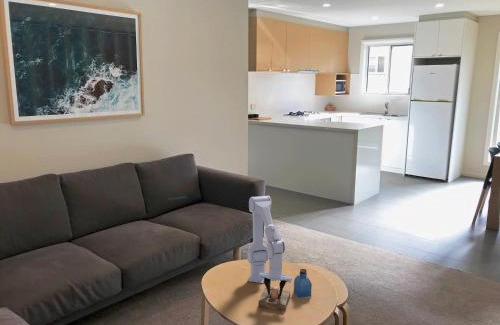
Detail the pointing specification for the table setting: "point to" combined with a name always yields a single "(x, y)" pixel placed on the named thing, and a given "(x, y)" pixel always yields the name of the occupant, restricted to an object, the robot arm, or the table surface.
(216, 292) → the table surface
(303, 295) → the perfume bottle
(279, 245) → the robot arm
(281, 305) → the socket
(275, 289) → the peg
